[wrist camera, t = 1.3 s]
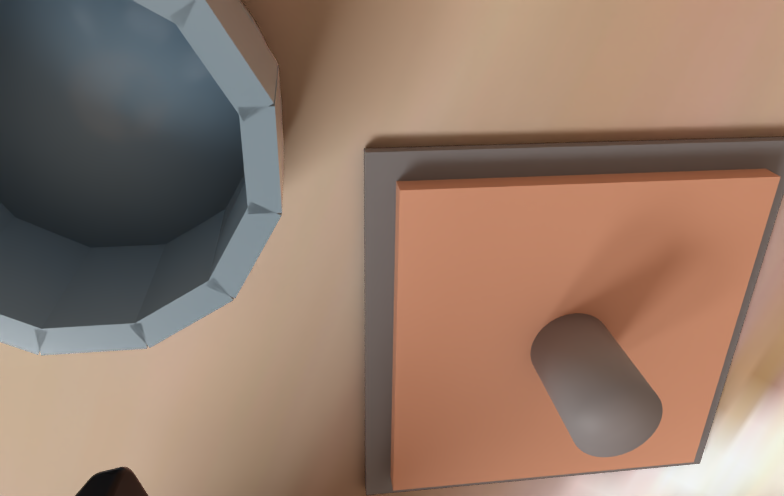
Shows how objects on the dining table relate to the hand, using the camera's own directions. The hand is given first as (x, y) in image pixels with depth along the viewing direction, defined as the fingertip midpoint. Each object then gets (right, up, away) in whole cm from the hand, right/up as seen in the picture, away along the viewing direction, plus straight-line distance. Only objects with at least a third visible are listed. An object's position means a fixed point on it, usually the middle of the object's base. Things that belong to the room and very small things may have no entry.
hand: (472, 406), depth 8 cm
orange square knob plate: (+5, -1, +16) cm, 17 cm away
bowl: (-9, +6, +11) cm, 16 cm away
